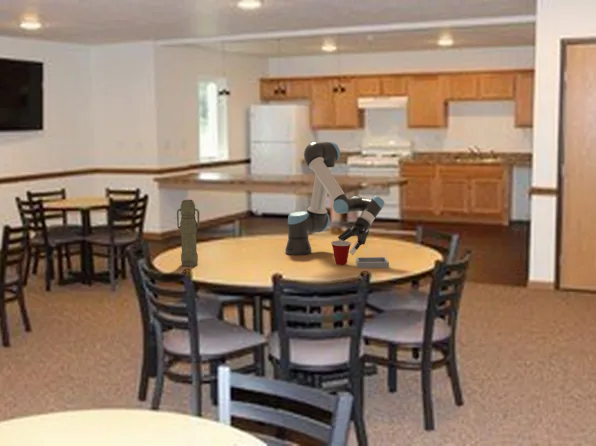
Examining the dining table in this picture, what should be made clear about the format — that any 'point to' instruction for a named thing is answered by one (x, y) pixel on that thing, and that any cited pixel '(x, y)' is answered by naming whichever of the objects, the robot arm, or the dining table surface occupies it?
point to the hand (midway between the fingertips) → (343, 251)
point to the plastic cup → (341, 251)
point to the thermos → (188, 233)
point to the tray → (372, 262)
